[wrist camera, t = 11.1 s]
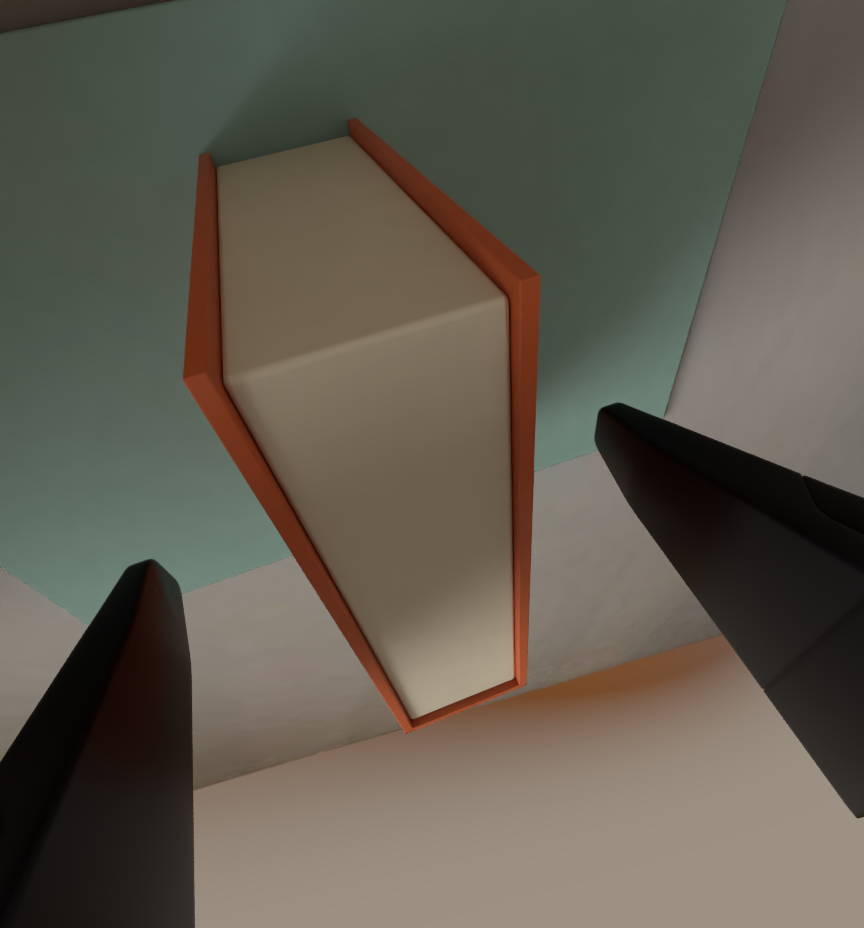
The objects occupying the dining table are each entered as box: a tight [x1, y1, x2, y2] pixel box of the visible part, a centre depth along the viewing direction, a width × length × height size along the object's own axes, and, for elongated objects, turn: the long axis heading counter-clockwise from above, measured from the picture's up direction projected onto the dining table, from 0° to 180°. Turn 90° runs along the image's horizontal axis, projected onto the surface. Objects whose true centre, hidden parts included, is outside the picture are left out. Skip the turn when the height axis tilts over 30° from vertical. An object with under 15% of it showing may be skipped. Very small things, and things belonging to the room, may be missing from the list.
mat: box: [0, 0, 787, 626], centre depth 13 cm, size 22×14×1 cm, turn 98°
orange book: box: [183, 118, 541, 734], centre depth 10 cm, size 3×10×8 cm, turn 8°
